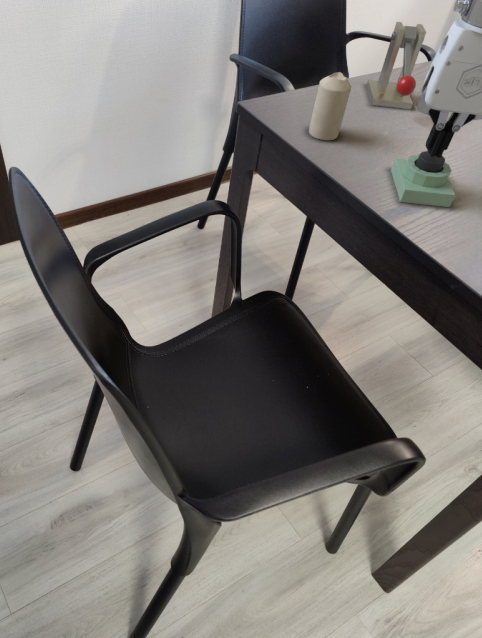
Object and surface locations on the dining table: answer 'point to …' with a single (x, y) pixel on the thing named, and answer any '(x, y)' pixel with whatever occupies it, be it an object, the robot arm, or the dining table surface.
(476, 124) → the dining table surface
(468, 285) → the dining table surface
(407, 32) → the lever
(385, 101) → the bracket
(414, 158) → the button box
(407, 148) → the dining table surface
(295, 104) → the dining table surface
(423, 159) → the button
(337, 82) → the candle
